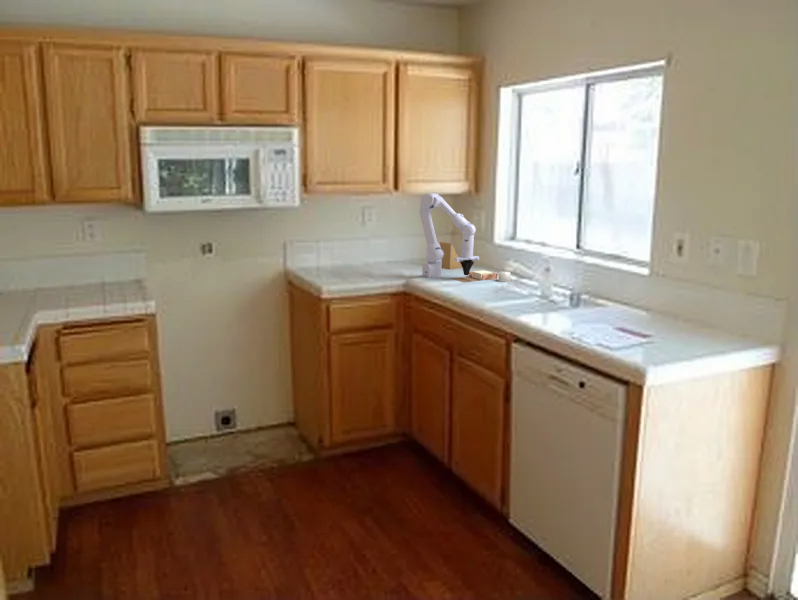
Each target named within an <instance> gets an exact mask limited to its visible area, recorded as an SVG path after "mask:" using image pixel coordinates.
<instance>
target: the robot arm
mask: <svg viewBox="0 0 798 600" xmlns="http://www.w3.org/2000/svg"><path fill="white" fill-rule="evenodd" d="M420 201H421V203H420V206H419V215H420V220H421V224H422V229H423V232H424V236H425V239H426V244H427V245H426V249H425V250H426V254H425V256H426V257H425V258H426V259H427V262H425V263H423V265H422V277H423V278H428V279H432V278H433V279H434V278H441V277H442V270H443V268H442V260H441V259H442V258H443V256H444V252H443V250H442V249H441V247H440V242H438V239H437V235H436V231H435V226H434V221H433V218H432V214H431V212H432V211H433V210H434V208H440V209H441V210H442V211H443V212H444V213H445V214H446V215H448V216H449V217H450V218H451V222H452V224H453V225H455V226H456V228H458V229H459V230H460V233H461V235H462V243H461V256H459V257H457V258H455V262H460V263H461V265H462V268H461V269H462V272H463V275H464V276H469V272H471V268H472V266H473V265H474V264H475V261H480V256H478V255H474V248H475V247H474V244H475V234H476V231H477V228H476V226H475V224H473V223H471V222H470V221H468V220H467V219H466V217H464V216H465V215H464V214H462V213H457V212H455V210H454V209H453V208H452V207H451V206H450V205H449V203H448V202H446V200H445V199H444V197H442V196H441V195H440V194H439V193H437V192H432V193H431V192H429V193H428V192H427V193H425V194H424V195H423V196H422V197H421V198H420Z"/></svg>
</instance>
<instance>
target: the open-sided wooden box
mask: <svg viewBox="0 0 798 600" xmlns="http://www.w3.org/2000/svg"><path fill="white" fill-rule="evenodd" d="M498 277H499V273H495V272H493V274H489V275H482V279H477V278H473V277H472V271H470V272H469V275H468V276H462V277H454V278H449V279H450V280H454V281H458V282H460V283H470V282H471V283H472V282H473V283H474V282H482V281H489V280H497V279H498Z"/></svg>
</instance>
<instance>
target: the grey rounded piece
mask: <svg viewBox="0 0 798 600" xmlns="http://www.w3.org/2000/svg"><path fill="white" fill-rule="evenodd" d="M497 279H498V280H497V281H498V282H501V283H510V282H511V272H510V271H506V270H504V271H503V270H500V271H498V276H497ZM510 285H511V284H508V286H510Z"/></svg>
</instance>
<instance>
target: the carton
mask: <svg viewBox="0 0 798 600" xmlns="http://www.w3.org/2000/svg"><path fill="white" fill-rule="evenodd" d="M471 272H472V277H473V278H477V279H482V275H489V274H493V273H494V272H492V271H489V270H484V269H483V270H475V271H471Z"/></svg>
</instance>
